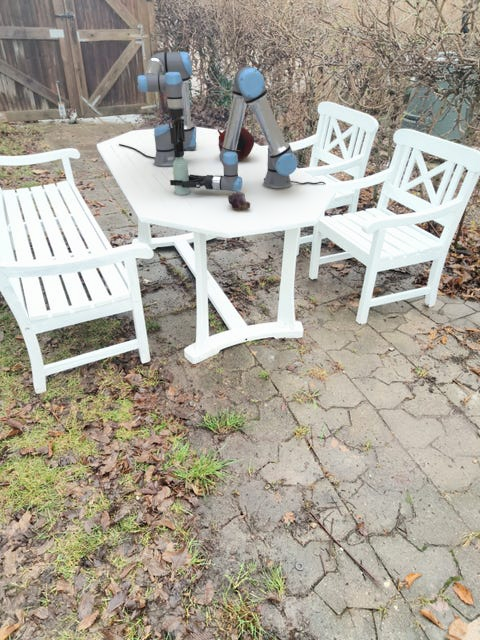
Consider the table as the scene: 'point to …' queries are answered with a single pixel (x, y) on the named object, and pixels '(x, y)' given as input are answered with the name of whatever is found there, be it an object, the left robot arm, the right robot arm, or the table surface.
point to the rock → (238, 201)
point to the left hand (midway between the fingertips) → (179, 155)
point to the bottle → (181, 175)
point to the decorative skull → (240, 143)
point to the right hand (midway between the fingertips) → (173, 180)
